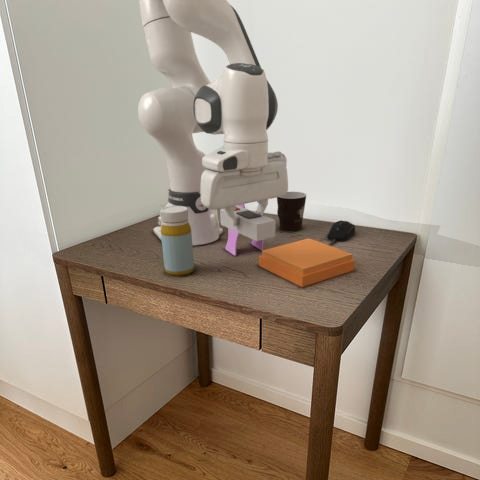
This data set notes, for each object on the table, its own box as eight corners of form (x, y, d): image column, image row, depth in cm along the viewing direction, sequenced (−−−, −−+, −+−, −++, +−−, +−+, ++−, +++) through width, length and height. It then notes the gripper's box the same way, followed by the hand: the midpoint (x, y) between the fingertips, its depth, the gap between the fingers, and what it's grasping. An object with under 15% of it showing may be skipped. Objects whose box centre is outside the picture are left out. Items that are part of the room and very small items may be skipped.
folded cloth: (259, 266, 112) (258, 250, 110) (308, 252, 119) (309, 237, 117) (302, 287, 100) (302, 270, 98) (354, 270, 108) (355, 254, 106)
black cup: (293, 222, 143) (294, 190, 138) (310, 229, 137) (312, 195, 132) (262, 229, 138) (262, 195, 133) (279, 236, 131) (279, 201, 127)
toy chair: (266, 251, 121) (266, 193, 114) (236, 257, 117) (234, 198, 110) (252, 242, 127) (251, 187, 120) (223, 247, 124) (220, 191, 117)
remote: (220, 224, 104) (219, 207, 102) (238, 221, 106) (237, 204, 104) (256, 241, 93) (256, 222, 92) (275, 236, 96) (275, 218, 94)
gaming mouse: (319, 243, 125) (320, 229, 123) (336, 228, 137) (337, 215, 135) (342, 246, 122) (343, 231, 121) (357, 231, 134) (358, 217, 132)
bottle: (166, 266, 113) (159, 206, 106) (194, 265, 113) (189, 204, 106) (164, 277, 107) (157, 214, 100) (194, 275, 107) (189, 212, 100)
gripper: (277, 148, 99) (275, 211, 106) (194, 159, 90) (198, 227, 96) (295, 152, 95) (293, 217, 102) (211, 163, 85) (214, 235, 92)
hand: (246, 222), depth 99 cm, fingers closed on remote, 5 cm apart
